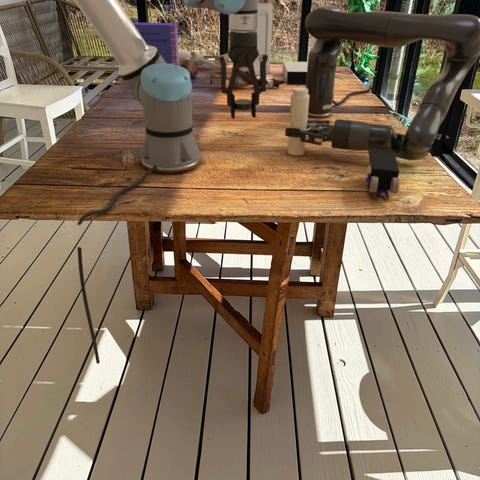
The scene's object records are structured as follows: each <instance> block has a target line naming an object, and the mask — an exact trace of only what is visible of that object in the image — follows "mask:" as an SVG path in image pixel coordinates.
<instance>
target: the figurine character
mask: <svg viewBox="0 0 480 480" xmlns="http://www.w3.org/2000/svg"><path fill="white" fill-rule="evenodd" d="M367 153H368V158H369V165H368V166H367V169H366V173H367V174H366V177H365V182H366V184H367V189H368V190H369V193H372V198H374V199H377V194H384V197H385V199H386V200H389V199H390V194H398V192H399V188H400V178H399V175H400V169H399V164H398V161H397V157H395V153H394V151H388V150H378V149H368V150H367ZM389 192H390V193H389ZM376 193H377V194H376Z"/></svg>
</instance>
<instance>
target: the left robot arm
mask: <svg viewBox="0 0 480 480" xmlns="http://www.w3.org/2000/svg"><path fill="white" fill-rule="evenodd" d="M73 1H74V3H75V5H77V7H78V8H79V9H80V11H81V12H82V14H83V15H84V17H85V19H87V21H88V22H89V24H90V25H91V27H92V28H93V30H94V31H95V32H96V34H97V35H98V36H99V38H100V40H101V41H102V42H103V44H104V45H105V46H106V48H107V49H108V51H109V52H110V53H111V55H112V56H113V58H114V59H115V60H116V62H117V63H118V75H119V77H120V78H121V79H122V81H123V82H124V84H125V85H126V86H127V87H128V89H129V90H130V93H131V95H132V97H134V99H135V100H136V101H137V102H138V103H139V104H140V105H141V107H143V115H144V125H145V138H144V142H143V146H142V150H141V154H140V162H141V166H142V168H144V169H145V170H146V171H147V172H146V173H144V175H142V176H141V177H140V178H139V179H138V180H136V182H134V183H132V184H130V185H127V186H125V187H123V188H122V189H120V190H118V191H117V192H116V193H115V194H114V195H113V196H112V198H111V200H110V202H109V204H108V205H107V206H106V207H104V208H101V209H96V210H91V211H88V212H86V213H84V214H82V216H81V217H80V218H79V219H78V222H77V223H76V224H77V226H81V225H82V224H83V223H84V221H85V220H86V219H87V218H88V217H91V216H94V215H98V214H99V215H100V214H103V213H106V212H108V211H109V210H110V209H111V208H112V207H113V206H114V205H115V203H116V200H117V198H118V197H119V196H121V195H122V194H123V193H125V192H127V191H130V190H132V189H134V188H135V187H137V186H139V185H140V184H141V183H142V182H143V181H145V179H146V178H147V177H148V176H150V174H152V173H156V174H163V175H164V174H165V175H169V174H170V175H172V174H173V175H175V174H182V173H187V172H190V171H193V170H195V169H197V168H198V167H199V166H201V163H202V155H201V151H200V149H199V146H198V143H197V141H196V137H195V135H194V130H193V129H194V126H193V101H192V100H193V99H192V98H193V97H192V90H193V83H192V80H191V79H192V78H190V74H189V72H188V71H187V70H186V69H185V68H183V67H181V66H176V65H174V64H167V63H166V62H165V61H164V59H163V58H162V56H161V55H160V53H159V51H158V50H157V48H156V47H153V46H149V45H147V44H146V42H145V41H144V39H143V38H142V36H141V35H140V33H139V32H138V30H137V29H136V27H135V25H134V24H133V21H132V19H131V18H130V16H129V15H128V13H127V11H126V10H125V8H124V7H123V6H122V4H121V2H120V0H73ZM258 3H259V0H183V4H184V5H185V7H187V8H188V9H204V8H205V9H208V10H211V11H216V12H218V13H220V14H223V15H228V27H229V28H228V29H230V31H229V33H228V34H229V35H228V37H229V38H228V39H229V40H228V41H229V47H228V50H227V53H224V54H220V55H218V61H219V63H220V75H221V78H220V86H219V87H220V89H219V90H220V92H221V93H222V94H223V95H226V104H227V107H230V117H231V119H236V109H235V100H236V96H235V94H234V93H233V92H234V89H235V88H234V85H235V81H236V77H237V73H238V71H239V68H242V67H248V69H249V73H250V77H251V81H252V85H251V86H252V88H253V92H251V96H250V97H251V99H250V100H251V101H252V102H253V108H252V109H250V115H251V117H252V118H253V119H254V118H256V114H257V111H256V110H257V109H256V108H257V107H256V106H259V105H260V95H261V93H263V92H266V91H267V86H266V79H267V73H266V62H267V59H268V56H267V55H266V54H265V53H264V54H262V53H259V51H258V49H257V32H256V31H255V30H256V29H257V12H258V10H257V8H258ZM257 57H259V61H260V75H259V78H260V87H258V83H257V79H256V77H257V76H256V75H255V71H254V66H253V63H254V61H255V60H256V58H257ZM228 59H230V61H231V63H232V66H231V67H232V69H231V72H230V76H229V77H230V80H228V84H227V79H226V76H227V63H228ZM82 252H83V251H82V247H80V246H77V263H78V273H79V282H80V289H81V294H82V300H83V303H84V304H83V305H84V308H85V309H84V310H85V315H86V320H87V324H88V329H89V333H90V338H91V341H92V347H93V351H94V358H95V362H96V364H97V365H98V364H100V362H101V361H100V357H99V355H100V354H99V349H98V345H97V340H96V336H95V335H96V334H95V330H94V326H93V320H92V316H91V312H90V306H89V301H88V297H87V290H86V284H85V277H84V267H83V256H82V255H83V253H82Z"/></svg>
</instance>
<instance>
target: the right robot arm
mask: <svg viewBox="0 0 480 480" xmlns="http://www.w3.org/2000/svg"><path fill="white" fill-rule="evenodd" d="M304 22H305V23H304V25H305V29H306V32H307V33H308V34H309V36H310V37H312V38H313V39H315V42H314V45H313V46H312V48H311V49H310V50H309V52H308V56H307V62H308V67H307V79H306V84H305V88H307V89H308V91H309V92H308V94H309V95H310V96H309V108H308V117H309V118H310V117H311V118H318V119H319V118H320V119H321V118H328V117H330V116H332V109H333V108H332V107H333V105H334V106H340V105H341V104H343V103H344V102H345V101H347V100H348V99H349V98H350V97H351V96H353V95H358V94H359V95H360V94H366V93H369V92H371V90H374V87H373V86H372V85H370V86H369V87H368V89H365V90H358V91H352V92H350V93H348V94H347V95H346V96H345V97H343V99H341V101H339V102H337V101H335V99H334V97H335V94H334V90H335V82H336V81H335V80H336V73H337V70H336V69H337V62H338V56H339V55H340V52H341V48H342V43H343V40H345V41H350V42H354V43H359V44H364V45H370V46H375V47H382V48H388V49H389V48H390V49H398V48H402V47H405V46H408V45H411V44H412V43H415V42H417V41H420V40H421V41H422V40H432V41H440V42H444V51H445V53H446V54H445V55H446V56H445V60H444V63H443V67H442V69H441V72H440V73H439V75H438V77H437V78H436V79H435V80H434V81H433V82H432V83H431V84H430V85H429V87H427V89H426V91H425V92H424V94H423V96H422V99H421V101H420V103H419V104H418V107H417V109H416V112H415V114H414V116H413V118H412V119H411V121H410V123H409V125H408V126H407V129H406V131H405V134H403V133H401V132H400V133H399V132H396V131H395V128H394V127H393V126H392V125H389V124H381V123H371V122H367V121H361V120H352V119H350V120H349V119H340V118H338V119H337V118H336V119H335V120H334V124H330V121H329V120H317V119H315V120H313V119H312V120H311V119H309V120H308V119H307V129H297V128H289V127H286V128H285V130H284V131H285V132H284V135H285V137H287V138H288V137H297V138H299V139H300V141H301V142H305V144H311V145H317V146H322V145H323V143H325V142H331V148H332V149H337V150H346V151H353V152H354V151H356V152H368V149H378V150H388V151H394V153H395V157H396V158H399V159H401V160H405V161H412V162H413V161H420V160H423V159H425V158H426V157H428V155H429V154H430V152H431V149H432V147H433V144H434V142H435V139H436V137H437V135H438V133H439V129H440V127H441V124H442V123H443V122H444V120H445V118H446V116H447V114H448V111H449V109H450V107H451V105H452V103H453V100H454V98H455V96H456V93H457V91H458V89H459V88H460V86H461V84H462V82H463V81H464V80H465V77H466V75H468V72H469V71H470V69H472V66H473V65H474V64H475V62H476V61H477V59H478V58H479V57H480V17H479V16H476V15H473V14H465V13H464V14H462V13H461V14H459V13H458V14H454V13H453V14H421V13H405V12H398V11H387V10H386V11H385V10H373V11H371V10H369V11H359V12H358V11H357V12H344V11H343V10H342V9H341V8H340V7H339V6H337V5H333V4H332V5H323V6H317V7H316V8H314V9H312V10H311V11H310V12H309V14H307V16H306V18H305V21H304ZM305 135H306V136H305Z"/></svg>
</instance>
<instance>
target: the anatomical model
mask: <svg viewBox="0 0 480 480" xmlns="http://www.w3.org/2000/svg"><path fill="white" fill-rule="evenodd" d="M195 52H196V51H191V52H190V54H191V55H192V57H191V59H190V60H189V59H185V58H183V59H181V61H180V62H179V66H181V67H183V68H185V69H186V70H187V71H188V72H189V74H190V79H193V78H196V77H197V76H198V74H199V67H198V68H197V66H196V64H195V62H194V61H195V59H196V53H195Z"/></svg>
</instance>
